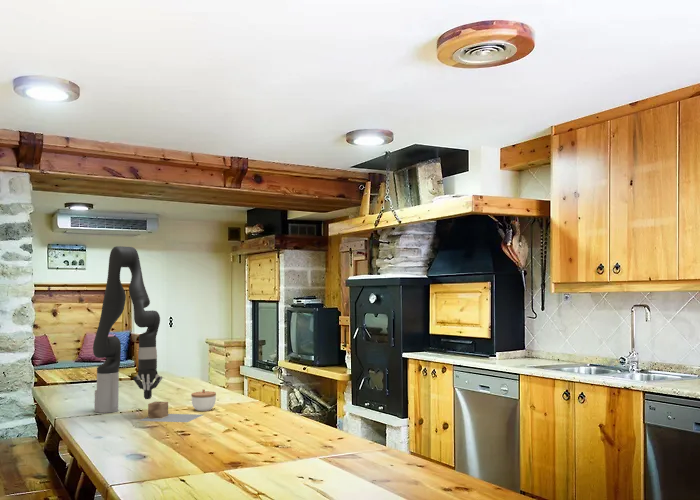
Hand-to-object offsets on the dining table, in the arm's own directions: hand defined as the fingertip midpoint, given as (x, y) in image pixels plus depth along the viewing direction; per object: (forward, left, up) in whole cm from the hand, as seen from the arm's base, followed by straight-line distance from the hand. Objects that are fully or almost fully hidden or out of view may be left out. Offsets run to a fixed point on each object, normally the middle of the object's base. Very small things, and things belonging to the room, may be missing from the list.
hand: (147, 398), depth 278 cm
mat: (+11, 0, -8) cm, 13 cm away
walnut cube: (+5, 0, -8) cm, 9 cm away
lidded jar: (+17, +19, -8) cm, 27 cm away
